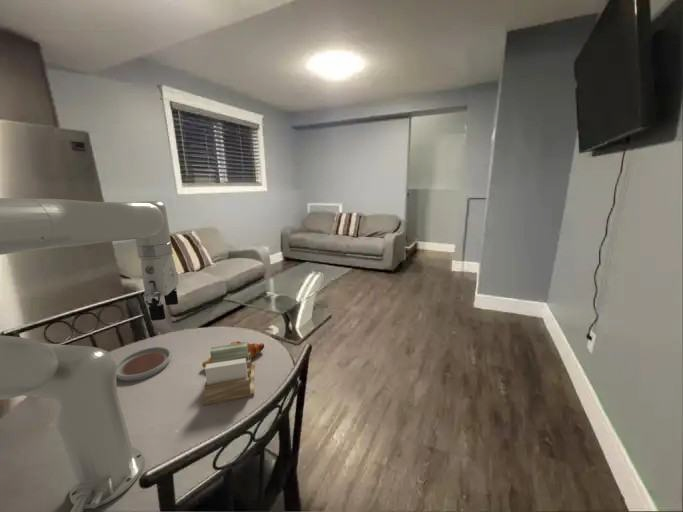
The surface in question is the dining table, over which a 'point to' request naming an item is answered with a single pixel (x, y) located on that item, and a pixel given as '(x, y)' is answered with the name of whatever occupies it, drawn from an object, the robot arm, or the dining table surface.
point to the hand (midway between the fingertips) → (165, 311)
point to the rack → (235, 387)
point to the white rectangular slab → (226, 371)
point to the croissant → (252, 348)
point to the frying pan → (143, 363)
